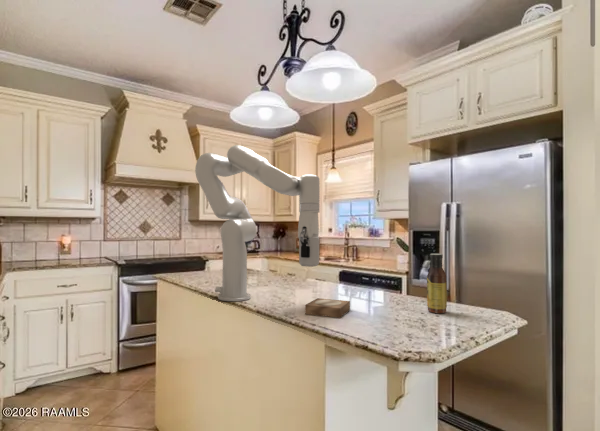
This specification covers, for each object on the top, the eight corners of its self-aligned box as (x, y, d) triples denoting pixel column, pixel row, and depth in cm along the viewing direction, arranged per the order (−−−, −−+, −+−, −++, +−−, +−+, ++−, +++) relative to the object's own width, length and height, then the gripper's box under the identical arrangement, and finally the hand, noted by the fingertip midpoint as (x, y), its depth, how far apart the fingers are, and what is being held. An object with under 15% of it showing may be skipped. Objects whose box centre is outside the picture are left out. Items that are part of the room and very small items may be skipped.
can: (317, 267, 131) (317, 233, 132) (297, 266, 133) (297, 233, 133) (320, 264, 139) (320, 232, 139) (301, 264, 140) (301, 232, 140)
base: (305, 314, 122) (305, 304, 122) (317, 306, 133) (317, 297, 133) (340, 317, 117) (340, 307, 117) (349, 309, 128) (349, 300, 128)
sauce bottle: (432, 309, 130) (432, 252, 131) (449, 312, 126) (449, 253, 126) (423, 312, 126) (423, 253, 126) (441, 315, 121) (441, 254, 122)
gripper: (308, 209, 146) (308, 254, 145) (290, 207, 129) (290, 258, 129) (326, 209, 143) (326, 255, 142) (310, 207, 127) (310, 258, 126)
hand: (309, 256), depth 136 cm, fingers closed on can, 7 cm apart
